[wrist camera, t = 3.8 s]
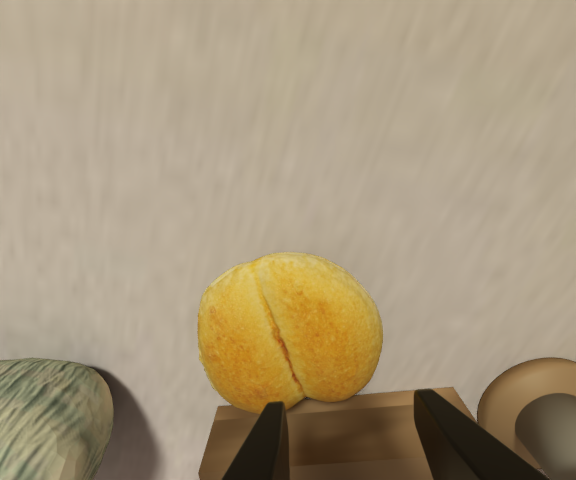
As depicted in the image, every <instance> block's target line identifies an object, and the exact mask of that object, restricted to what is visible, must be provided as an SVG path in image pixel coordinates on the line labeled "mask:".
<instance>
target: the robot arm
mask: <svg viewBox="0 0 576 480" xmlns="http://www.w3.org/2000/svg"><path fill="white" fill-rule="evenodd" d="M414 422H415V426H416V429H417V432H418V435H419V438H420V441H421V444H422V447H423V450H424V453H425V456H426V459H427V462H428V465H429V468H430V471H431V474H432V477H433V480H550V479H549V478H547V477H546V476H545V475H544V474H542V473H541V472H540V471H538V470H537V469H536V468H534V467H533V466H532V465H531V464H529V463H528V462H527V461H525V460H524V459H523V458H521V457H520V456H519V455H518V454H516V453H515V452H514V451H512V450H511V449H510V448H508V447H507V446H506V445H505V444H503V443H502V442H501V441H499V440H498V439H497V438H495V437H494V436H493V435H492V434H490V433H489V432H488V431H486V430H485V429H484V428H482V427H481V426H480V425H479V424H477V423H476V422H475V421H473V420H472V419H471V418H469V417H468V416H467V415H466V414H464V413H463V412H462V411H460V410H459V409H458V408H456V407H455V406H454V405H453V404H451V403H450V402H449V401H447V400H446V399H445V398H443V397H442V396H441V395H440V394H438V393H437V392H436V391H434V390H432V389H418V390H415V391H414ZM221 480H290V465H289V431H288V423H287V416H286V410H285V404H284V402H283V401H273V402H268V403H267V404H266V406H265V407H264V409H263V411H262V412H261V414H260V416H259V417H258V419H257V421H256V422H255V424H254V426H253V427H252V429H251V431H250V432H249V434H248V436H247V437H246V439H245V441H244V442H243V444H242V446H241V447H240V449H239V451H238V452H237V454H236V456H235V457H234V459H233V460H232V462H231V464H230V465H229V467H228V469H227V470H226V472H225V474H224V475H223V477H222V479H221Z"/></svg>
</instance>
